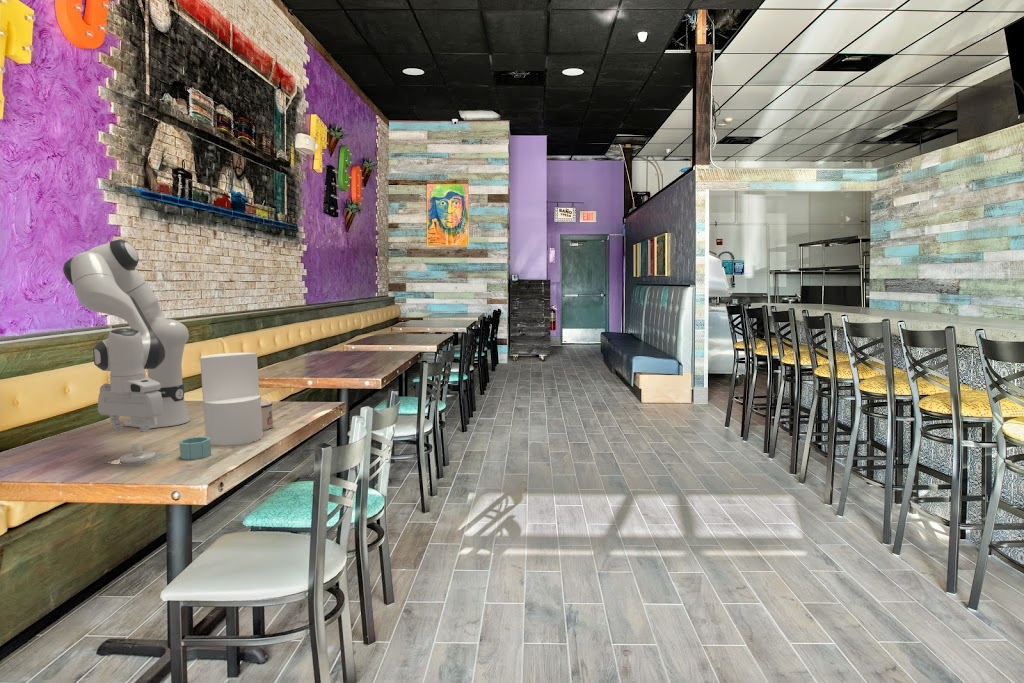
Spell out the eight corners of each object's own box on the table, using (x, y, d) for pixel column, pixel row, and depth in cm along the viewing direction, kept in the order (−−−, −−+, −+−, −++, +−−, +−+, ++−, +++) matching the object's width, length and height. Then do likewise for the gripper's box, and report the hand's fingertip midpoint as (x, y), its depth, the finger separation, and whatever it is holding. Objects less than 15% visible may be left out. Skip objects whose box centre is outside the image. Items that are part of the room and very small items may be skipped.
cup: (174, 459, 180) (173, 443, 180) (194, 452, 188) (193, 436, 188) (197, 461, 179) (196, 444, 178) (216, 453, 186) (215, 437, 186)
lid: (112, 462, 178) (110, 448, 177) (137, 453, 186) (136, 440, 186) (138, 463, 176) (137, 449, 175) (162, 454, 184) (161, 441, 184)
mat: (103, 464, 177) (103, 463, 177) (137, 452, 188) (137, 452, 188) (137, 466, 174) (137, 465, 174) (170, 455, 185) (170, 454, 185)
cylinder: (199, 438, 204) (194, 355, 201) (253, 430, 215) (248, 351, 212) (213, 449, 191) (208, 360, 188) (270, 439, 202) (265, 355, 199)
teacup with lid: (273, 429, 215) (272, 397, 214) (245, 432, 212) (243, 399, 211) (273, 422, 226) (271, 391, 225) (246, 425, 223) (244, 393, 222)
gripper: (90, 384, 178) (93, 431, 179) (147, 387, 173) (150, 435, 174) (109, 381, 184) (112, 426, 185) (165, 383, 179) (168, 430, 180)
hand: (131, 430), depth 180 cm, fingers open, 8 cm apart
